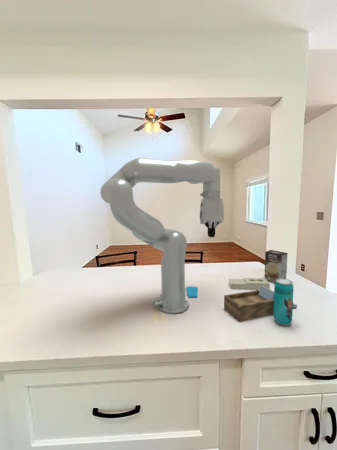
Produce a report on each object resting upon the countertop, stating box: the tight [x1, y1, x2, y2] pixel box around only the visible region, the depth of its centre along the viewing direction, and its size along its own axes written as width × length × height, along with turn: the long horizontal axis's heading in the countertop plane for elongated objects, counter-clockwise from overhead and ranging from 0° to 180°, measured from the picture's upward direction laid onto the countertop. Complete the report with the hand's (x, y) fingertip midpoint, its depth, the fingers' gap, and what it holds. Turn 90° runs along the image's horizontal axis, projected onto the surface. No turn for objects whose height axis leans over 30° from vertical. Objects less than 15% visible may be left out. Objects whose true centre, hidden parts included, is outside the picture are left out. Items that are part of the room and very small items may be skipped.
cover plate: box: [258, 286, 298, 309], centre depth 87 cm, size 13×7×4 cm, turn 106°
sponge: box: [185, 286, 199, 299], centre depth 102 cm, size 2×12×6 cm
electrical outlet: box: [228, 277, 271, 291], centre depth 107 cm, size 7×4×18 cm
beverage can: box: [273, 278, 294, 327], centre depth 74 cm, size 6×6×15 cm
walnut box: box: [223, 290, 274, 323], centre depth 83 cm, size 16×10×6 cm, turn 107°
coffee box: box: [263, 249, 288, 284], centre depth 113 cm, size 9×6×16 cm
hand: (211, 236), depth 96 cm, fingers closed
